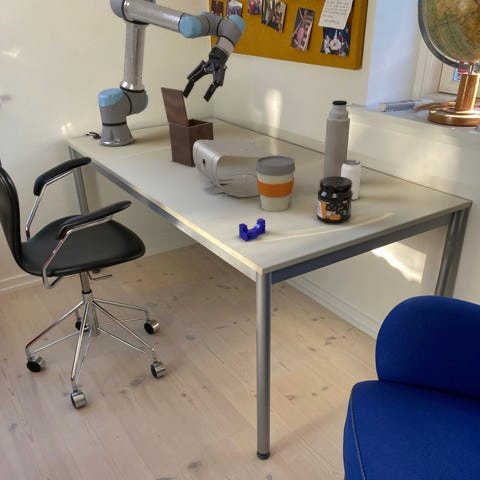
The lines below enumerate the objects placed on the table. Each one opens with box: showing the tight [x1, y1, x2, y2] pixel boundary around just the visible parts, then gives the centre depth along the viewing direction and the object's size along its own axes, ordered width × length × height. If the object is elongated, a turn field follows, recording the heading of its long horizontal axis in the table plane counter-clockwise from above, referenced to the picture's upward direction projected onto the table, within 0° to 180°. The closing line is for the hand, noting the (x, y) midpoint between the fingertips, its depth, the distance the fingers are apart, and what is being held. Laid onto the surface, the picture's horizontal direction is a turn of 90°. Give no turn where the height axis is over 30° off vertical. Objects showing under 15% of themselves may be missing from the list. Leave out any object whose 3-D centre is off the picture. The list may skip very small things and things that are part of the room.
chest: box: [168, 117, 215, 168], centre depth 216 cm, size 13×13×15 cm
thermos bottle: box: [322, 99, 351, 179], centre depth 184 cm, size 8×8×28 cm
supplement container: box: [316, 176, 353, 225], centre depth 158 cm, size 10×10×12 cm
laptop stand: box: [193, 139, 280, 198], centre depth 185 cm, size 26×24×16 cm
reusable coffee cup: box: [255, 155, 296, 212], centre depth 168 cm, size 12×13×15 cm
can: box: [341, 159, 362, 201], centre depth 174 cm, size 6×6×12 cm
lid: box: [160, 86, 189, 127], centre depth 204 cm, size 14×13×1 cm
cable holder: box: [238, 217, 266, 242], centre depth 151 cm, size 8×4×4 cm, turn 124°
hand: (194, 98), depth 209 cm, fingers open, 13 cm apart
